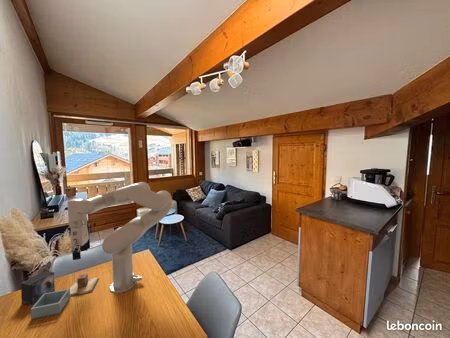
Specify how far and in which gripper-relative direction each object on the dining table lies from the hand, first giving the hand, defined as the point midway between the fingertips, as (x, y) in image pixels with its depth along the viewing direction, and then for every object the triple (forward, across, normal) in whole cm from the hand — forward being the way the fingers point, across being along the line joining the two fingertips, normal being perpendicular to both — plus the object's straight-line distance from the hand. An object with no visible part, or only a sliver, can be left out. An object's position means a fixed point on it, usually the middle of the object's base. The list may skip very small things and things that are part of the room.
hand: (80, 254), depth 100 cm
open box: (+18, -12, +8) cm, 23 cm away
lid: (+18, 0, 0) cm, 18 cm away
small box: (+18, 0, +18) cm, 26 cm away
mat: (+18, 0, 0) cm, 18 cm away
